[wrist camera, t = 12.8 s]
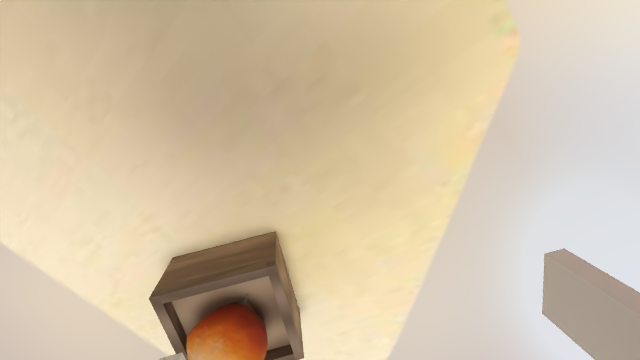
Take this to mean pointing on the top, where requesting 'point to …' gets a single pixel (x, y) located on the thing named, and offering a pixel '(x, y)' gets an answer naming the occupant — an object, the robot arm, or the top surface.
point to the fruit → (229, 335)
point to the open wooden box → (231, 292)
